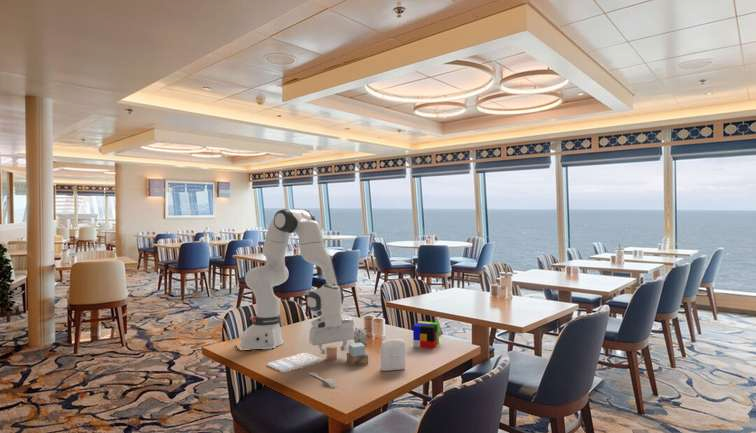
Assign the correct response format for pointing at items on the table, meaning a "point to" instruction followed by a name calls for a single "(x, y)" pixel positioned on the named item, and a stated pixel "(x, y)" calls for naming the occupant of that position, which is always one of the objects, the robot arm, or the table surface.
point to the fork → (323, 379)
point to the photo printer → (392, 354)
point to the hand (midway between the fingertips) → (332, 352)
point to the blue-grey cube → (356, 349)
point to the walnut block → (357, 360)
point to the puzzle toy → (425, 334)
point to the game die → (360, 336)
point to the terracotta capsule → (331, 353)
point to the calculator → (294, 362)
